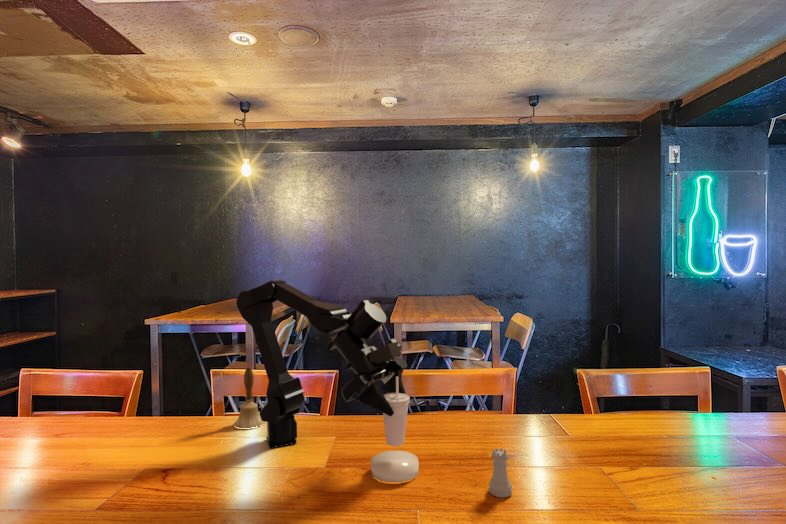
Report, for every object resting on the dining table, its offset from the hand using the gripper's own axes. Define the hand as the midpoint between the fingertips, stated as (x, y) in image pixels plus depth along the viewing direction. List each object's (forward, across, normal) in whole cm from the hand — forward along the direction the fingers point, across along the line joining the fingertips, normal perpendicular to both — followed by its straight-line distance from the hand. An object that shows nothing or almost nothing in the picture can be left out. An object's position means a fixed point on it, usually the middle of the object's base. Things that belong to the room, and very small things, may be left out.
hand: (400, 410), depth 94 cm
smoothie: (+4, 0, +6) cm, 7 cm away
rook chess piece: (+24, +2, -5) cm, 25 cm away
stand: (+9, -1, +10) cm, 13 cm away
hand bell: (-26, +4, +46) cm, 53 cm away
